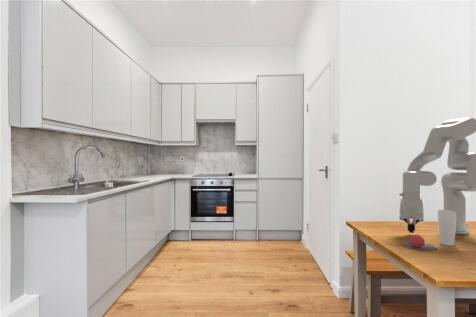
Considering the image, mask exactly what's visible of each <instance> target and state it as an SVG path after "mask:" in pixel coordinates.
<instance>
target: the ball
mask: <svg viewBox="0 0 476 317" xmlns="http://www.w3.org/2000/svg"><path fill="white" fill-rule="evenodd" d="M409 242H410V244H411V245H412V246H413V247H415V248H421V247H423V246H424V243H425V240H424V238H423V236H421V235H419V234H413V235H411V236H410V237H409ZM425 244H426V243H425Z"/></svg>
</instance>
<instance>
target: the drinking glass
mask: <svg viewBox="0 0 476 317" xmlns="http://www.w3.org/2000/svg"><path fill="white" fill-rule="evenodd" d="M437 221H438V222H437V223H438V231H439V232H438V233H439V243H440V245H443V246H445V247H447V246H448V247H452V246H455V242H456V240H455V239H456V234H455V231H456V221H457V216H456V211H451V210H444V209H438V211H437Z"/></svg>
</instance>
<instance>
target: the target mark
mask: <svg viewBox="0 0 476 317" xmlns="http://www.w3.org/2000/svg"><path fill="white" fill-rule="evenodd" d="M401 246H403V247H406V248H409V249H411V250H416V251H417V250H419V251H428V252H429V251H430V252H431V251H437V250H438V247H437V246H435V245H432V244H429V243H424V246H423V247H421V248H415V247H413V246H412V245H411V244H410V241H404V242H402V245H401Z"/></svg>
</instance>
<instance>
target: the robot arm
mask: <svg viewBox="0 0 476 317" xmlns="http://www.w3.org/2000/svg"><path fill="white" fill-rule="evenodd" d="M475 133H476V119H475V118H474V117H462V118H456V119H449V120H446V121H443V122H442V123H441V125H439V126H435V127H433V128H431V130H430V133H429V134H428V138H427V139H426V142H425V144H424V148H423V150H422V151H421V152H420V153H419V154H417V155H416V156H415V158H414V159H412V161H411V162H410V163H409V165H408V167H407V170H405V171H404V172H403V173H402V192H400V193H399V196H400V197H401V199H400V203H399V217H398V219H399V220H400V221H404V222H405V223H406V224H407V232H409V233H410V234H414V232H415V231H416V225H417V224H418V223H420V222H425V221H424V217H425V216H424V214H425V213H424V204H423V203H424V202H423V199H422V198H421V187H422V186H424V187H431V186H433V185H435V184H436V182H437V175H436V174H435V173H434V172H432V171H429V170H421V169H422V168H423V167H424V166H426V165H428V164H429V163H431V162H434V161H436V160H438V159H439V158H440V159H441V157H442V156H443V152H444V151H445V147H446V145H447V143H448V144H449V145H448V146H449V147H448V154H447V162H446V163H447V167H448V169H450V170H452V171H453V172H447V173H444V174H443V175H442V176H441V178H440V179H441V180H440V183H441V187H442V192H443V195H442V196H443V210H451V211H456V216H457V221H456V231H455V235H469V234H470V231H469V230H468V229H466V228H467V227H469V224H468V223H466V222H467V221H466V220H467V219H466V218H467V217H466V216H467V212H466V211H467V210H466V209H467V208H466V201H467V200H466V197H465V194H464V193H463V192H470V193H472V192H473V193H475V192H476V152H475V151H471V152H470V151H469V149H470V148H469V147H470V146H469V145H470V144H469V143H470V142H469V140H467V138H468V137H469V136H472V135H473V134H475ZM455 171H457V172H455ZM458 171H466V172H458ZM411 221H412V222H411Z"/></svg>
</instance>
